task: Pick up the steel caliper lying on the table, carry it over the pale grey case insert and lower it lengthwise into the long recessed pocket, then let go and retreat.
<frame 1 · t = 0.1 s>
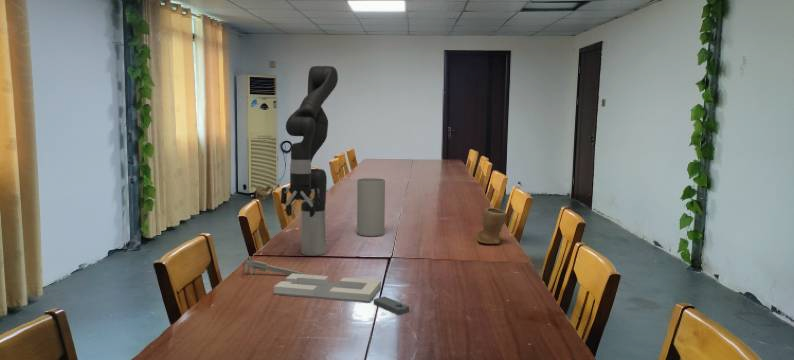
hand: (300, 216, 201), 17 cm above the table, tool pointing down, fingers open, 8 cm apart
case insert: (328, 291, 170), on the table
cylinder vase: (370, 234, 251), on the table
caliper: (275, 276, 186), on the table
stone cup: (490, 242, 239), on the table
bracket: (391, 310, 157), on the table
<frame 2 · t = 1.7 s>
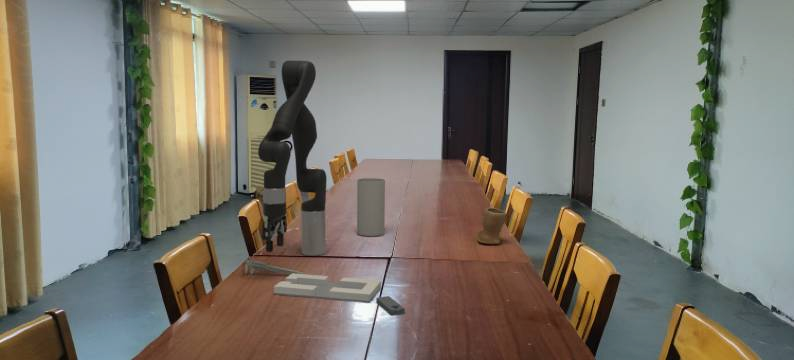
hand: (275, 248, 185), 9 cm above the table, tool pointing down, fingers open, 8 cm apart
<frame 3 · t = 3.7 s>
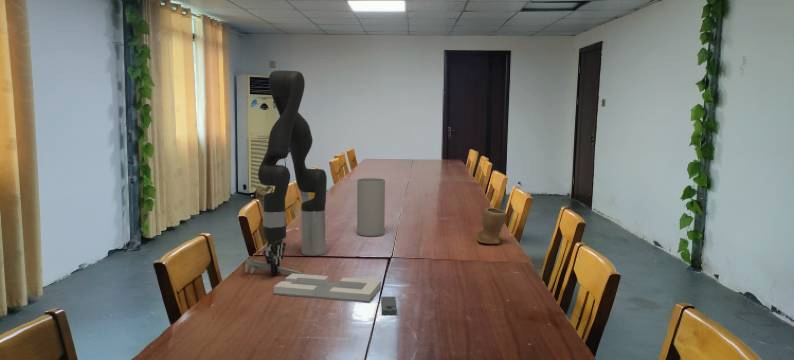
hand: (275, 274, 186), 0 cm above the table, tool pointing down, fingers closed on caliper, 1 cm apart
caliper: (275, 276, 186), on the table, touching gripper
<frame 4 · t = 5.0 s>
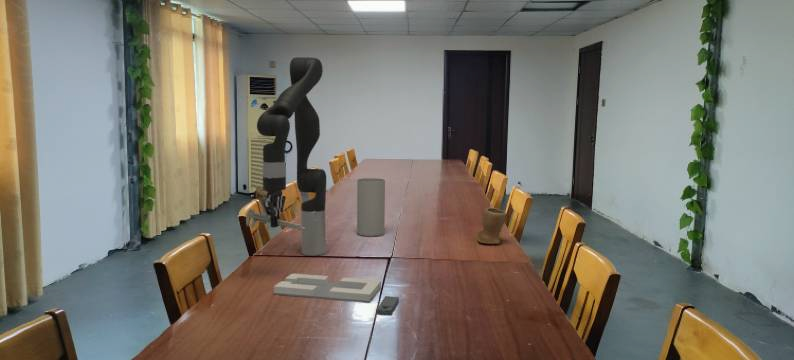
hand: (275, 226, 184), 17 cm above the table, tool pointing down, fingers closed on caliper, 1 cm apart
caliper: (275, 228, 184), point 16 cm above the table, touching gripper
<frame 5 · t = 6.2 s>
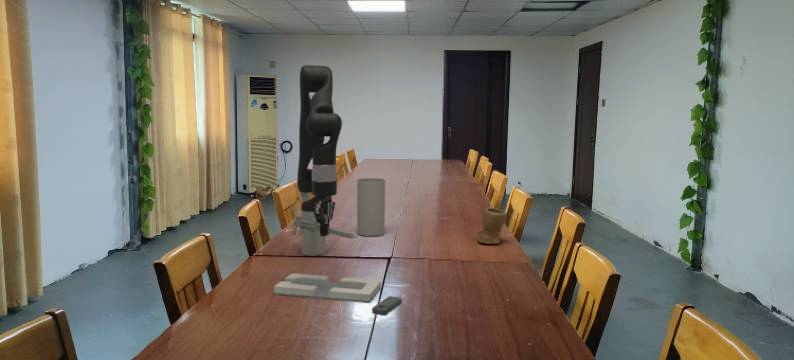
hand: (324, 235, 168), 18 cm above the table, tool pointing down, fingers closed on caliper, 1 cm apart
caliper: (324, 237, 169), point 17 cm above the table, touching gripper
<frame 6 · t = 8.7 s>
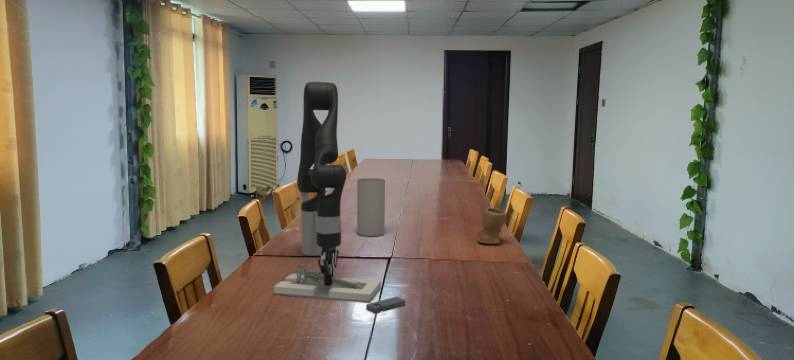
hand: (328, 284, 170), 2 cm above the table, tool pointing down, fingers closed on caliper, 1 cm apart
caliper: (329, 287, 170), point 1 cm above the table, touching gripper
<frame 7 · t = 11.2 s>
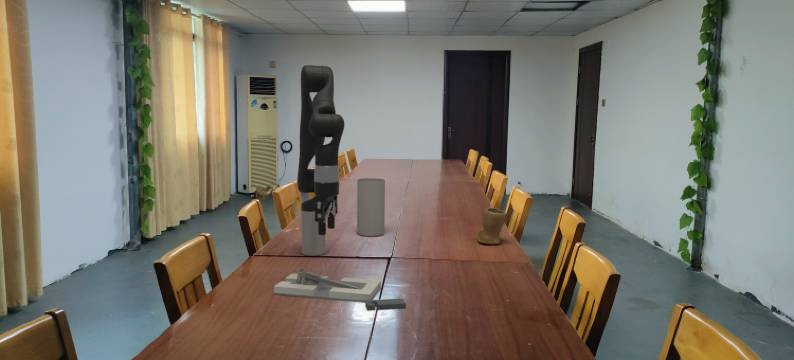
hand: (326, 231, 170), 18 cm above the table, tool pointing down, fingers open, 8 cm apart
caliper: (329, 290, 170), resting on case insert
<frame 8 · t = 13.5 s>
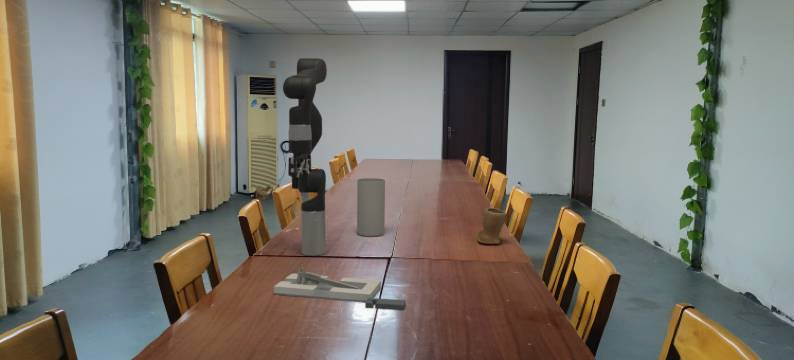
hand: (300, 187, 184), 30 cm above the table, tool pointing down, fingers open, 8 cm apart
at the end: caliper inside the target area on the case insert (0.2 cm from its centre), point 0.3 cm above the case insert's base; the gripper is holding nothing; caliper touching case insert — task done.
